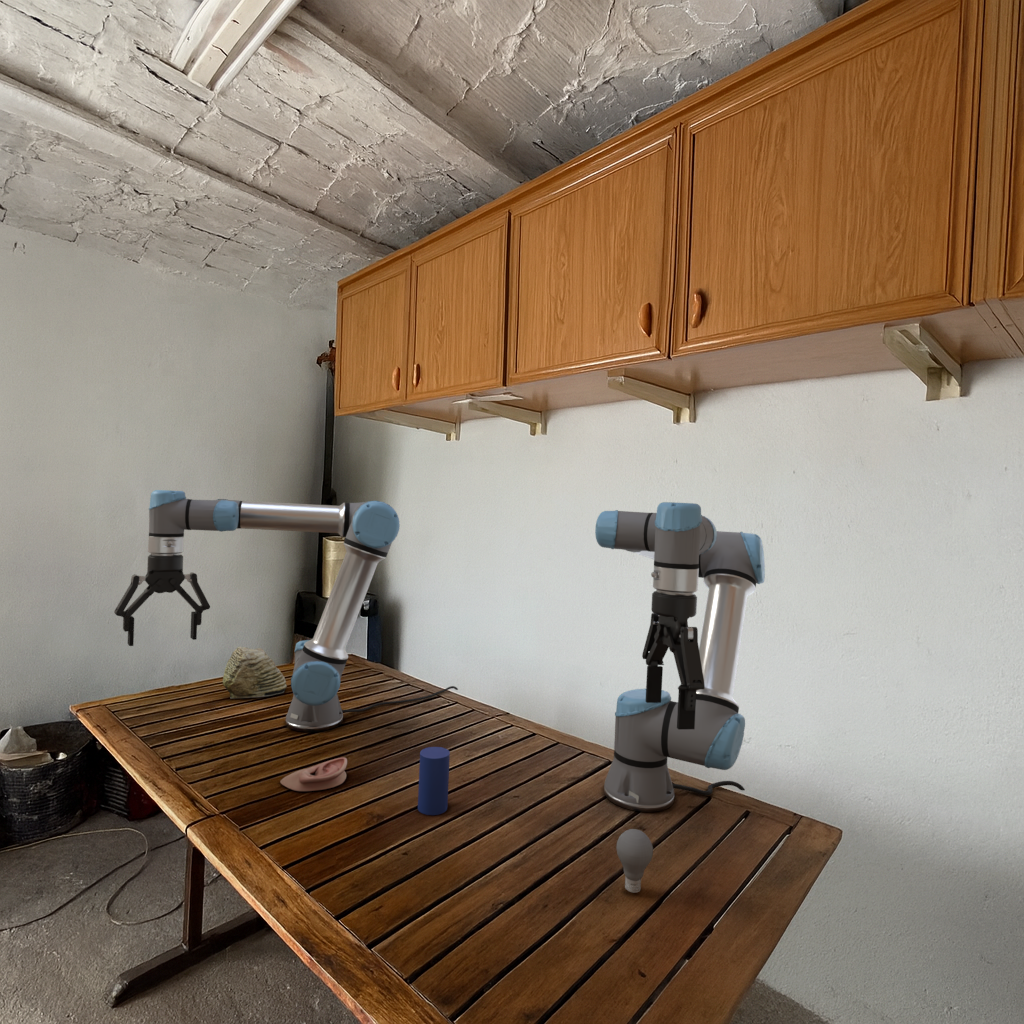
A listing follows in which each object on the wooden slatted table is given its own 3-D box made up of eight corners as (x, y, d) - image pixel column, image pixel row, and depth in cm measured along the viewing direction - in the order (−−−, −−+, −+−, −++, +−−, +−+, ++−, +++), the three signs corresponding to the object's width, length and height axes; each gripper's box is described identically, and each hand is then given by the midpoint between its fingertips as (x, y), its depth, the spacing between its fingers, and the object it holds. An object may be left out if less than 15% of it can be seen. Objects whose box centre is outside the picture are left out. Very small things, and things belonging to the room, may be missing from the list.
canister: (425, 798, 135) (428, 744, 135) (452, 804, 133) (454, 749, 133) (412, 811, 129) (414, 755, 129) (439, 817, 127) (442, 760, 127)
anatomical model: (273, 769, 136) (301, 749, 148) (272, 787, 136) (300, 766, 148) (329, 777, 134) (353, 756, 145) (329, 796, 134) (353, 773, 145)
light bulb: (610, 879, 108) (613, 822, 108) (644, 879, 109) (647, 822, 109) (619, 902, 102) (622, 840, 102) (655, 901, 103) (658, 840, 103)
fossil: (218, 695, 195) (220, 647, 195) (278, 685, 208) (279, 640, 207) (228, 703, 189) (230, 653, 188) (289, 692, 201) (290, 645, 201)
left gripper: (107, 556, 142) (104, 651, 142) (225, 554, 158) (222, 639, 158) (102, 553, 147) (99, 644, 148) (216, 551, 164) (213, 633, 164)
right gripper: (628, 581, 121) (623, 692, 121) (685, 603, 96) (678, 742, 96) (665, 582, 122) (660, 692, 122) (731, 604, 97) (724, 741, 98)
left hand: (162, 641), depth 153 cm, fingers open, 13 cm apart
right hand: (668, 714), depth 109 cm, fingers open, 13 cm apart
